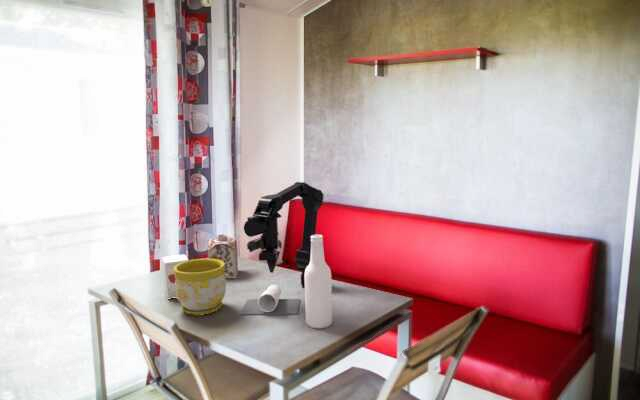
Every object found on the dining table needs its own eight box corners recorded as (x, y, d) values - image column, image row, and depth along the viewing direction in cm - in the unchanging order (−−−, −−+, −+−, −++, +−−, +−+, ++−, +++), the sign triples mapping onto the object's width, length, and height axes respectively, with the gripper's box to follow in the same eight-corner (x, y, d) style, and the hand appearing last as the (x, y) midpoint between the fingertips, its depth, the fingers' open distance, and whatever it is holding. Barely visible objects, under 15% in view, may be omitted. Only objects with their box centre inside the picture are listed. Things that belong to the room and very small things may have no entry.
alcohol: (335, 327, 160) (333, 237, 155) (309, 331, 158) (307, 240, 153) (327, 316, 169) (325, 231, 164) (302, 320, 166) (300, 234, 161)
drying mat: (300, 299, 185) (300, 298, 185) (297, 314, 171) (297, 313, 171) (247, 300, 186) (247, 299, 186) (240, 314, 172) (240, 313, 172)
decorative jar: (212, 271, 223) (209, 233, 220) (238, 270, 224) (236, 231, 221) (209, 280, 211) (206, 239, 208) (236, 278, 212) (234, 238, 209)
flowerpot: (166, 315, 174) (162, 270, 171) (195, 297, 190) (192, 256, 188) (210, 321, 167) (207, 275, 165) (236, 302, 184) (234, 260, 181)
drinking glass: (285, 285, 186) (279, 297, 171) (279, 302, 187) (273, 315, 172) (268, 279, 186) (261, 290, 172) (263, 296, 187) (255, 308, 172)
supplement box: (167, 300, 188) (164, 262, 186) (164, 293, 196) (161, 256, 194) (191, 296, 192) (188, 259, 189) (187, 289, 200) (184, 253, 198)
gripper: (252, 225, 189) (254, 265, 191) (243, 237, 170) (245, 280, 173) (281, 225, 188) (282, 264, 191) (275, 237, 170) (277, 280, 173)
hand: (271, 272), depth 182 cm, fingers closed
